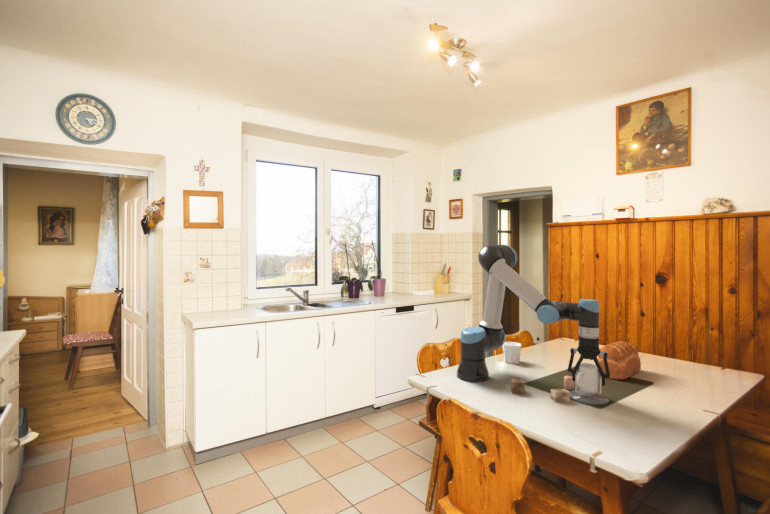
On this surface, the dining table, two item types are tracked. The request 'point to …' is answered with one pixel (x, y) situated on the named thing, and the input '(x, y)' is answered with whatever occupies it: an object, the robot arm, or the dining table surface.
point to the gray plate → (589, 398)
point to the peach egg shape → (568, 383)
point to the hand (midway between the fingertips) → (588, 390)
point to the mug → (588, 378)
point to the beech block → (560, 395)
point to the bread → (620, 360)
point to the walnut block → (517, 386)
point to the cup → (511, 352)
